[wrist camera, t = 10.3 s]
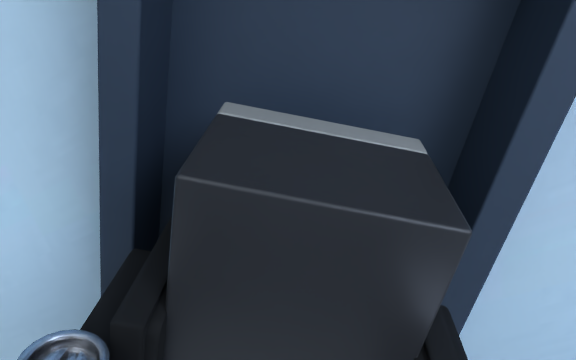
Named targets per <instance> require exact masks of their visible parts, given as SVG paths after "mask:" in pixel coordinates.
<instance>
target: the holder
mask: <svg viewBox="0 0 576 360" xmlns="http://www.w3.org/2000/svg"><path fill="white" fill-rule="evenodd" d="M97 11H98V93H99V176H100V259H101V297H102V295H103V294H104V292H105V290H106V289H107V287H108V286H109V284H110V283H111V281H112V280H113V278H114V277H115V275H116V274H117V272H118V270H119V269H120V267H121V266H122V264H123V263H124V261H125V260H126V258H127V257H128V255H129V253H130V252H131V251H132V250H133V249H135V248H136V249H141V250H147V251H152V249H153V247H154V246H155V244H156V242H157V240H158V239H159V237H160V235H161V233H162V232H163V230H164V228H165V227H166V225H167V223H168V221H169V220H170V218H171V216H172V212H173V198H174V185H175V176H176V175H177V173H178V172H179V170H180V169H181V167H182V166H183V164H184V163H185V161H186V160H187V158H188V157H189V155H190V154H191V152H192V151H193V149H194V148H195V146H196V145H197V143H198V142H199V140H200V139H201V137H202V136H203V134H204V133H205V131H206V130H207V128H208V127H209V125H210V124H211V122H212V121H213V119H214V118H215V116H216V115H217V113H218V112H219V110H220V109H221V107H222V106H223V104H224V103H225V102H230V103H235V104H240V105H245V106H250V107H256V108H261V109H266V110H271V111H276V112H281V113H286V114H292V115H297V116H302V117H307V118H312V119H317V120H322V121H327V122H333V123H338V124H343V125H348V126H353V127H358V128H363V129H368V130H374V131H379V132H384V133H389V134H394V135H399V136H404V137H410V138H415V139H419V140H420V141H421V143H422V144H423V146H424V148H425V150H426V151H427V155H429V156H430V158H431V160H432V162H433V163H434V165H435V167H436V169H437V170H438V172H439V174H440V176H441V177H442V179H443V181H444V183H445V184H446V186H447V188H448V190H449V191H450V193H451V195H452V196H453V198H454V200H455V202H456V203H457V205H458V207H459V209H460V210H461V212H462V214H463V216H464V217H465V219H466V221H467V223H468V224H469V226H470V228H471V230H472V236H471V238H470V240H469V242H468V245H467V247H466V249H465V251H464V254H463V256H462V258H461V260H460V263H459V265H458V267H457V269H456V272H455V274H454V276H453V278H452V281H451V283H450V285H449V287H448V290H447V292H446V294H445V296H444V299H443V301H442V303H441V305H443V306H445V307H447V308H448V310H449V312H450V314H451V316H452V319H453V322H454V324H455V327H456V330H457V332H458V335H459V334H460V332H461V330H462V328H463V326H464V324H465V322H466V320H467V318H468V316H469V314H470V312H471V310H472V308H473V305H474V303H475V301H476V299H477V297H478V295H479V293H480V291H481V289H482V287H483V285H484V283H485V281H486V279H487V277H488V275H489V273H490V271H491V269H492V267H493V264H494V262H495V260H496V258H497V256H498V254H499V252H500V250H501V248H502V246H503V244H504V242H505V240H506V238H507V236H508V234H509V232H510V230H511V228H512V226H513V223H514V221H515V219H516V217H517V215H518V213H519V211H520V209H521V207H522V205H523V203H524V201H525V199H526V197H527V195H528V193H529V191H530V189H531V187H532V185H533V182H534V180H535V178H536V176H537V174H538V172H539V170H540V168H541V166H542V164H543V162H544V160H545V158H546V156H547V154H548V152H549V150H550V148H551V146H552V144H553V141H554V139H555V137H556V135H557V133H558V131H559V129H560V127H561V125H562V123H563V121H564V119H565V117H566V115H567V113H568V111H569V109H570V107H571V105H572V103H573V100H574V98H575V96H576V0H97Z"/></svg>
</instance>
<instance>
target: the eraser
mask: <svg viewBox="0 0 576 360" xmlns="http://www.w3.org/2000/svg"><path fill="white" fill-rule="evenodd" d="M471 236H472V230H471V228H470V226H469V224H468V223H467V221H466V219H465V217H464V216H463V214H462V212H461V210H460V209H459V207H458V205H457V203H456V202H455V200H454V198H453V196H452V195H451V193H450V191H449V190H448V188H447V186H446V184H445V183H444V181H443V179H442V177H441V176H440V174H439V172H438V170H437V169H436V167H435V165H434V163H433V162H432V160H431V158H430V156H429V155H427V151H426V150H425V148H424V146H423V144H422V143H421V141H420V140H419V139H415V138H410V137H404V136H399V135H394V134H389V133H384V132H379V131H374V130H368V129H363V128H358V127H353V126H348V125H343V124H338V123H333V122H327V121H322V120H317V119H312V118H307V117H302V116H297V115H292V114H286V113H281V112H276V111H271V110H266V109H261V108H256V107H250V106H245V105H240V104H235V103H230V102H225V103H224V104H223V106H222V107H221V109H220V110H219V112H218V113H217V115H216V116H215V118H214V119H213V121H212V122H211V124H210V125H209V127H208V128H207V130H206V131H205V133H204V134H203V136H202V137H201V139H200V140H199V142H198V143H197V145H196V146H195V148H194V149H193V151H192V152H191V154H190V155H189V157H188V158H187V160H186V161H185V163H184V164H183V166H182V167H181V169H180V170H179V172H178V173H177V175H176V176H175V185H174V198H173V212H172V225H171V239H170V252H169V265H168V279H167V292H166V306H165V311H166V312H167V320H166V333H165V346H164V359H163V360H414V359H415V358H417V357H418V355H419V353H420V351H421V348H422V346H423V344H424V342H425V339H426V337H427V335H428V333H429V330H430V328H431V326H432V324H433V321H434V319H435V317H436V315H437V312H438V310H439V308H440V305H441V303H442V301H443V299H444V296H445V294H446V292H447V290H448V287H449V285H450V283H451V281H452V278H453V276H454V274H455V272H456V269H457V267H458V265H459V263H460V260H461V258H462V256H463V254H464V251H465V249H466V247H467V245H468V242H469V240H470V238H471Z"/></svg>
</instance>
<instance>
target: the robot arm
mask: <svg viewBox="0 0 576 360" xmlns="http://www.w3.org/2000/svg"><path fill="white" fill-rule="evenodd" d="M171 225H172V216H171V218H170V220H169V221H168V223H167V225H166V227H165V228H164V230H163V232H162V233H161V235H160V237H159V239H158V240H157V242H156V244H155V246H154V247H153V249H152V251H147V250H141V249H136V248H135V249H133V250H132V251H131V252H130V253H129V255H128V257H127V258H126V260H125V261H124V263H123V264H122V266H121V267H120V269H119V270H118V272H117V274H116V275H115V277H114V278H113V280H112V281H111V283H110V284H109V286H108V287H107V289H106V290H105V292H104V294H103V295H102V297H101V298H100V300H99V301H98V303H97V304H96V306H95V307H94V309H93V311H92V312H91V314H90V315H89V317H88V318H87V320H86V321H85V323H84V324H83V326H82V328H81V329H80V330H76V329H74V330H63V331H58V332H55V333H52V334H48V335H46V336H44V337H42V338H40V339H38V340H36V341H35V342H33V343H32V344H31V345H30V346H28V347H27V348H26V349H25V350H24V351H23V352H22V353H21V355H20V356H19V358H18V359H17V360H163V359H164V346H165V333H166V320H167V312H166V311H165V306H166V292H167V279H168V265H169V252H170V239H171ZM414 360H468V359H467V356H466V354H465V351H464V348H463V346H462V343H461V340H460V338H459V335H458V332H457V330H456V327H455V324H454V322H453V319H452V316H451V314H450V312H449V310H448V308H447V307H445V306H443V305H440V308H439V310H438V312H437V315H436V317H435V319H434V321H433V324H432V326H431V328H430V330H429V333H428V335H427V337H426V339H425V342H424V344H423V346H422V348H421V351H420V353H419V355H418V357H417V358H415V359H414Z"/></svg>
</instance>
